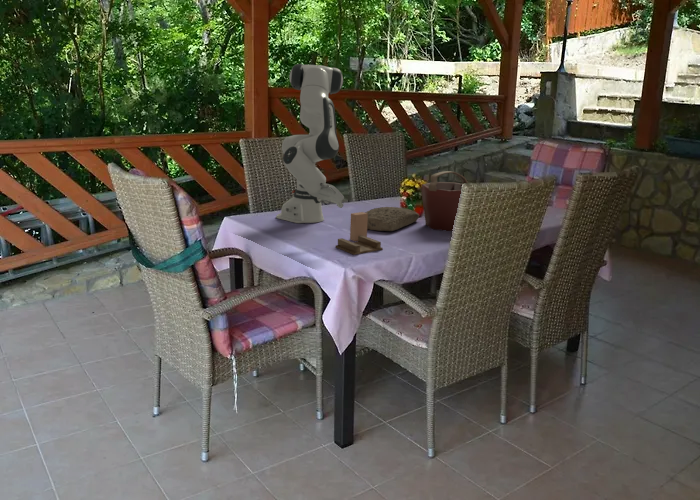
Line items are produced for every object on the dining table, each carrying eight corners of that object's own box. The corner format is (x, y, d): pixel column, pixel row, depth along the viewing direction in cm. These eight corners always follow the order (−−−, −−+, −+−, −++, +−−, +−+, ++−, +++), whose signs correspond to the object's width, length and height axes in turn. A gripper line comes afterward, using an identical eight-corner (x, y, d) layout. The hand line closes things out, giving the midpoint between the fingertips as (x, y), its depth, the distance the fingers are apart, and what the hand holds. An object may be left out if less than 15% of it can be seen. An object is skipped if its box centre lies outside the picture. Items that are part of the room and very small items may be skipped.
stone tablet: (382, 216, 306) (351, 227, 281) (383, 199, 303) (351, 209, 278) (420, 222, 296) (391, 235, 271) (421, 205, 294) (392, 216, 269)
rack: (353, 254, 239) (353, 246, 238) (335, 247, 248) (335, 239, 247) (382, 249, 247) (382, 241, 246) (363, 242, 256) (364, 234, 255)
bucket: (433, 234, 273) (437, 176, 267) (408, 222, 293) (411, 169, 286) (480, 229, 284) (485, 174, 277) (452, 219, 303) (456, 167, 296)
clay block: (355, 241, 258) (355, 215, 255) (350, 239, 260) (350, 213, 257) (366, 239, 261) (367, 213, 258) (361, 237, 264) (362, 211, 261)
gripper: (334, 179, 234) (355, 203, 242) (305, 171, 249) (325, 194, 258) (324, 192, 232) (345, 215, 241) (295, 183, 248) (316, 205, 256)
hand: (334, 204), depth 249 cm, fingers open, 8 cm apart
